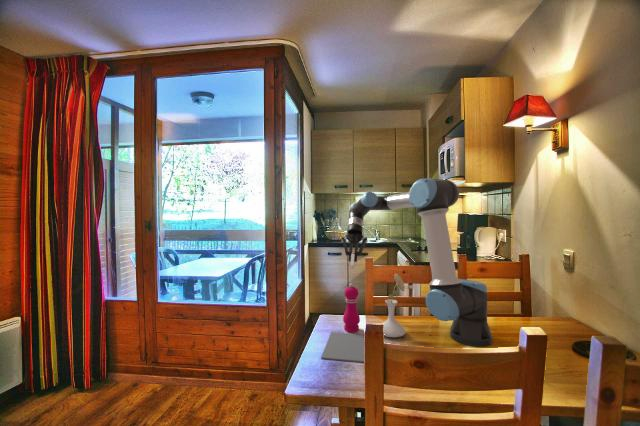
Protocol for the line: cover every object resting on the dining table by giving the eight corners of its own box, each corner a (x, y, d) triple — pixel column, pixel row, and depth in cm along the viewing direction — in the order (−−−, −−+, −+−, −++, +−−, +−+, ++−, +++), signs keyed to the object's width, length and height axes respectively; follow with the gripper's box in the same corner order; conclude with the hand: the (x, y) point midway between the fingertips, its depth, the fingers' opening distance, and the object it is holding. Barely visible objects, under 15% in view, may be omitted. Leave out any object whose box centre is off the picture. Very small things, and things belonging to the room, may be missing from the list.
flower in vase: (394, 343, 117) (394, 278, 117) (371, 333, 126) (371, 273, 126) (413, 334, 126) (413, 273, 125) (391, 326, 134) (391, 269, 134)
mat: (331, 333, 127) (331, 332, 127) (369, 336, 124) (369, 335, 124) (321, 358, 105) (321, 357, 105) (367, 363, 102) (367, 361, 102)
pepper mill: (340, 327, 133) (340, 282, 133) (355, 325, 135) (355, 280, 135) (347, 334, 126) (347, 286, 126) (363, 331, 129) (362, 284, 128)
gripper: (368, 233, 156) (366, 272, 140) (343, 232, 158) (338, 271, 142) (367, 223, 151) (366, 262, 135) (341, 223, 153) (337, 261, 137)
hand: (352, 267), depth 138 cm, fingers closed
